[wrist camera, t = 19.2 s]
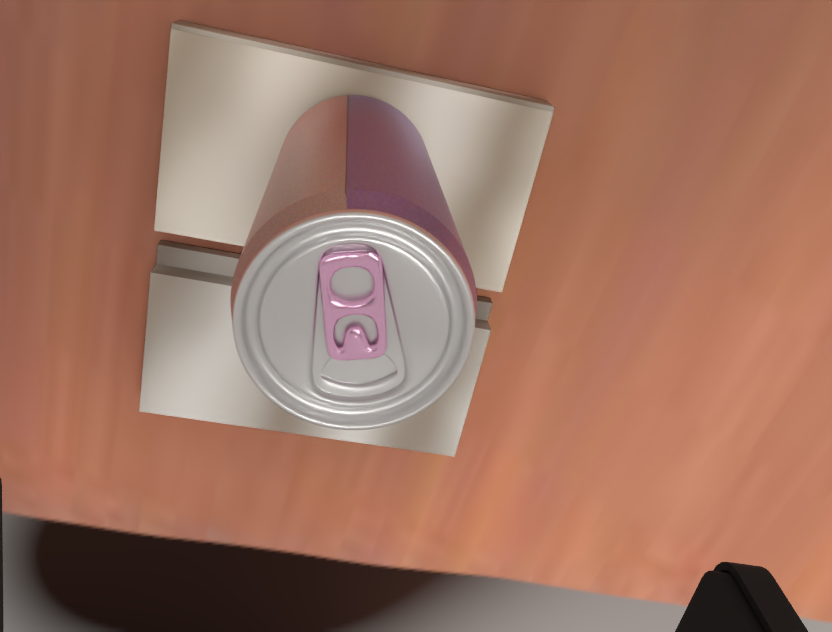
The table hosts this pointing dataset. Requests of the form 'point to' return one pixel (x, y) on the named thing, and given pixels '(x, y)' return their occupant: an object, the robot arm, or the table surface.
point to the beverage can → (353, 273)
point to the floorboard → (226, 376)
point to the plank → (304, 88)
